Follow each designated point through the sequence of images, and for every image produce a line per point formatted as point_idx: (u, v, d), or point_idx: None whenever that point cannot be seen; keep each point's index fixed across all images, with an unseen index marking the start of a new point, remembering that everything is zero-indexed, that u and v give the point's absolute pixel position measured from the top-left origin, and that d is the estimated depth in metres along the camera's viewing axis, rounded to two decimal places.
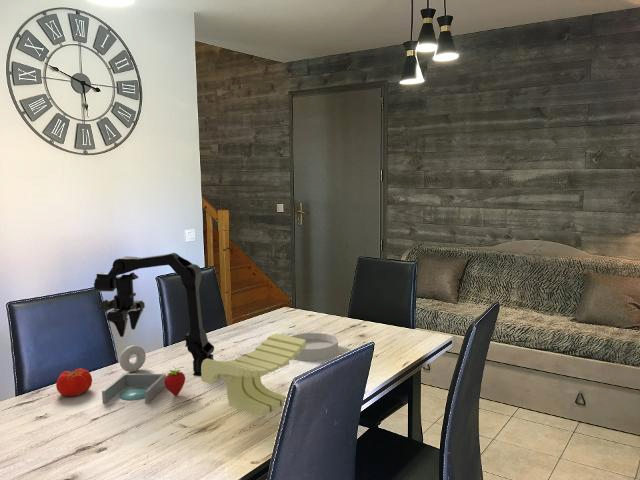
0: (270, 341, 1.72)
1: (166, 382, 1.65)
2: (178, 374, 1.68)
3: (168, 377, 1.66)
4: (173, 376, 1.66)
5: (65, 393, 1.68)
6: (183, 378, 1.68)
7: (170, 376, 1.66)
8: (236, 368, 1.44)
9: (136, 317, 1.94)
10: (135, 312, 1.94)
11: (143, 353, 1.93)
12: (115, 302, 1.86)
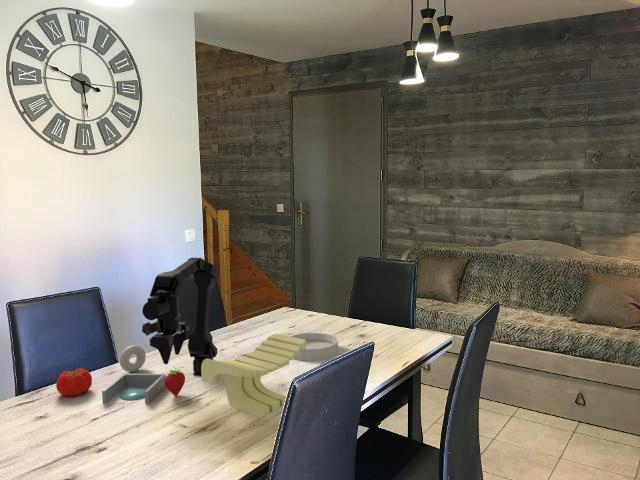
0: (270, 341, 1.72)
1: (166, 382, 1.65)
2: (178, 374, 1.68)
3: (168, 377, 1.66)
4: (173, 376, 1.66)
5: (65, 393, 1.68)
6: (183, 378, 1.68)
7: (170, 376, 1.66)
8: (236, 368, 1.44)
9: (180, 341, 1.72)
10: (179, 335, 1.72)
11: (143, 353, 1.93)
12: (158, 325, 1.64)
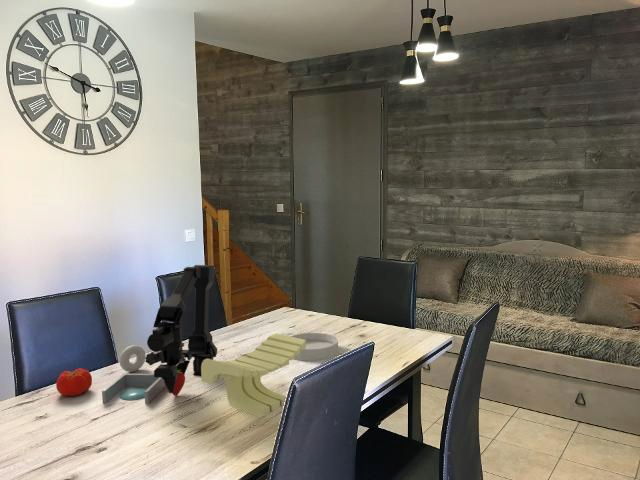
0: (270, 341, 1.72)
1: None
2: (178, 374, 1.68)
3: None
4: None
5: (65, 393, 1.68)
6: (183, 378, 1.68)
7: None
8: (236, 368, 1.44)
9: (183, 370, 1.72)
10: (181, 364, 1.72)
11: (143, 353, 1.93)
12: (162, 355, 1.65)
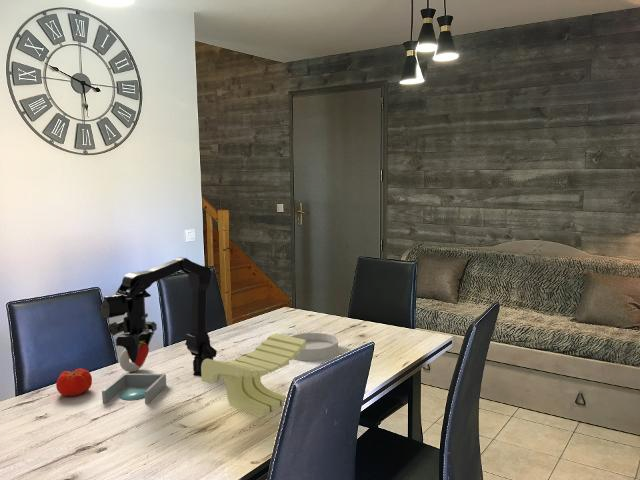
0: (270, 341, 1.72)
1: None
2: (141, 344, 1.68)
3: None
4: None
5: (65, 393, 1.68)
6: (146, 348, 1.69)
7: None
8: (236, 368, 1.44)
9: (146, 341, 1.72)
10: (145, 336, 1.72)
11: None
12: (125, 324, 1.65)
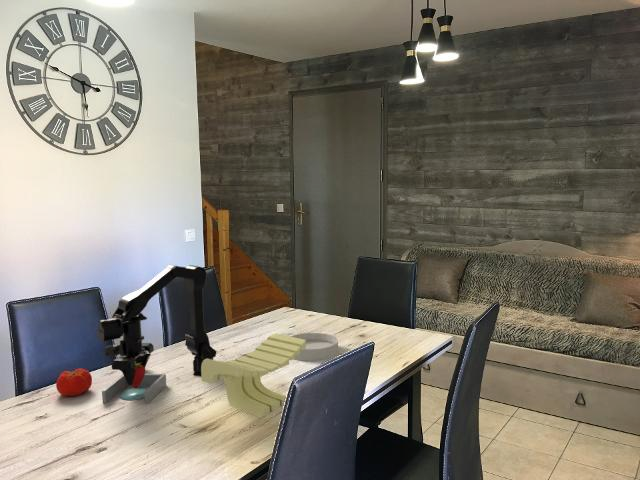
0: (270, 341, 1.72)
1: None
2: (138, 367, 1.70)
3: None
4: None
5: (65, 393, 1.68)
6: (143, 371, 1.70)
7: None
8: (236, 368, 1.44)
9: (143, 363, 1.74)
10: (142, 357, 1.74)
11: None
12: (121, 347, 1.67)
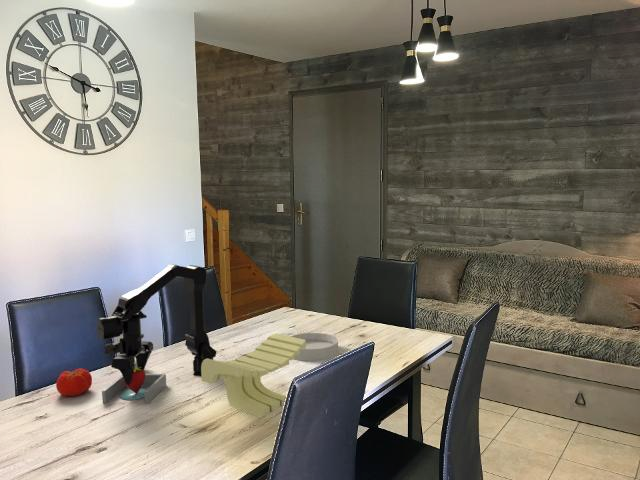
0: (270, 341, 1.72)
1: None
2: (137, 371, 1.70)
3: None
4: None
5: (65, 393, 1.68)
6: (143, 375, 1.70)
7: None
8: (236, 368, 1.44)
9: (144, 360, 1.75)
10: (143, 355, 1.75)
11: None
12: (121, 346, 1.67)
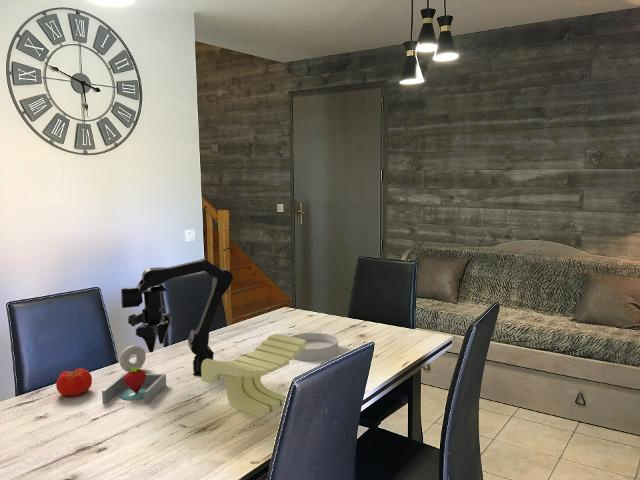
0: (270, 341, 1.72)
1: (126, 379, 1.67)
2: (138, 371, 1.70)
3: (128, 374, 1.68)
4: (133, 373, 1.68)
5: (65, 393, 1.68)
6: (143, 375, 1.70)
7: (130, 373, 1.69)
8: (236, 368, 1.44)
9: (164, 331, 1.85)
10: (163, 325, 1.86)
11: (143, 353, 1.93)
12: (143, 316, 1.77)
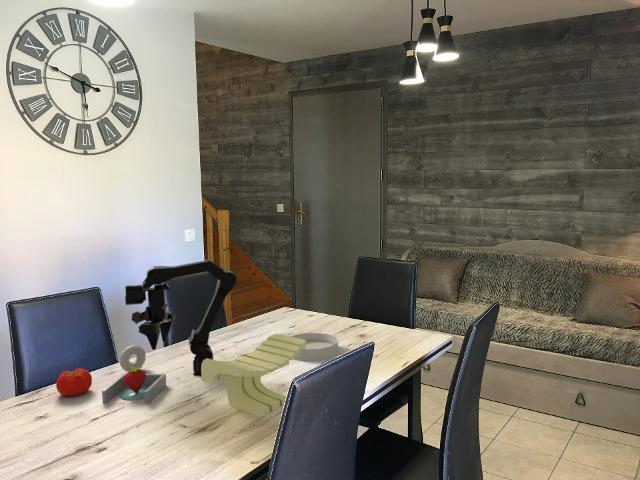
0: (270, 341, 1.72)
1: (126, 379, 1.67)
2: (138, 371, 1.70)
3: (128, 374, 1.68)
4: (133, 373, 1.68)
5: (65, 393, 1.68)
6: (143, 375, 1.70)
7: (130, 373, 1.69)
8: (236, 368, 1.44)
9: (167, 329, 1.87)
10: (166, 323, 1.87)
11: (143, 353, 1.93)
12: (147, 314, 1.79)
